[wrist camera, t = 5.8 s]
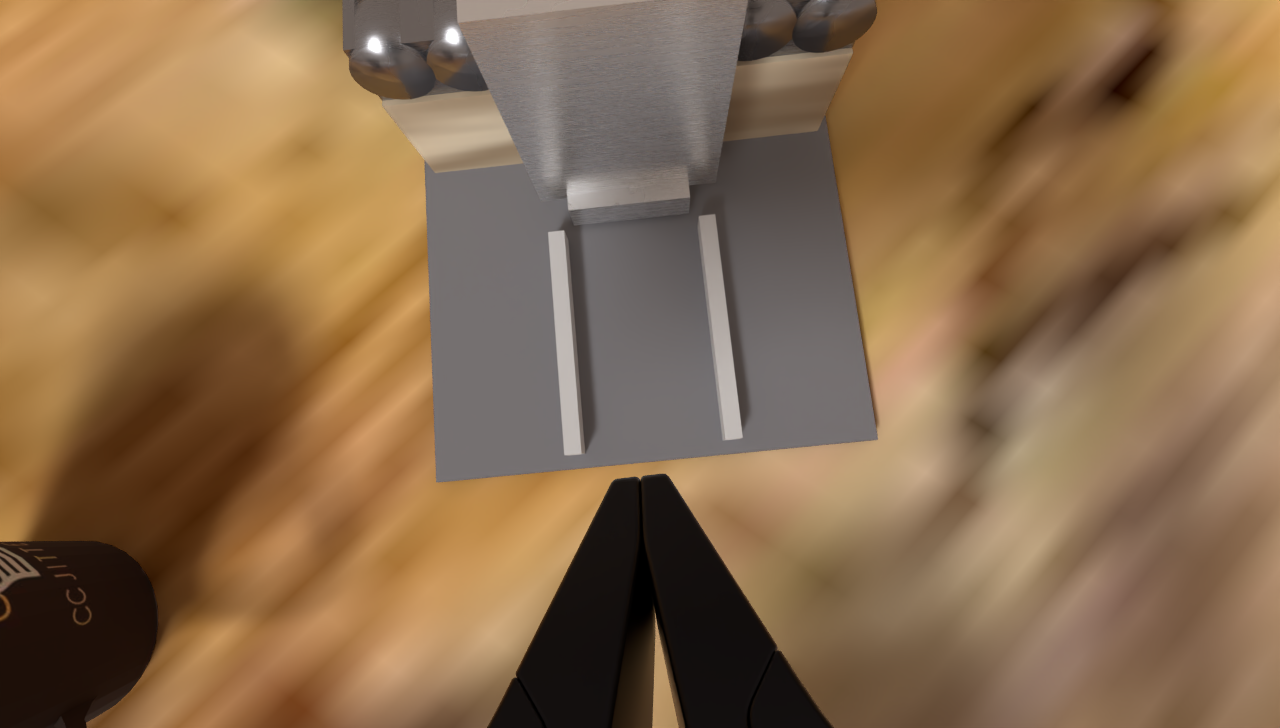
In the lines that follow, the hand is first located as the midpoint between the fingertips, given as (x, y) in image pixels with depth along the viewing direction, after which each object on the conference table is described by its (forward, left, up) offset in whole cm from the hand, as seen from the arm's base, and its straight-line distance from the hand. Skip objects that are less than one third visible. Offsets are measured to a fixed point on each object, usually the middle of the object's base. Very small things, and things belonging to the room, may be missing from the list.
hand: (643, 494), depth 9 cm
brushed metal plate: (+11, -7, -12) cm, 18 cm away
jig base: (+7, -4, -13) cm, 15 cm away
